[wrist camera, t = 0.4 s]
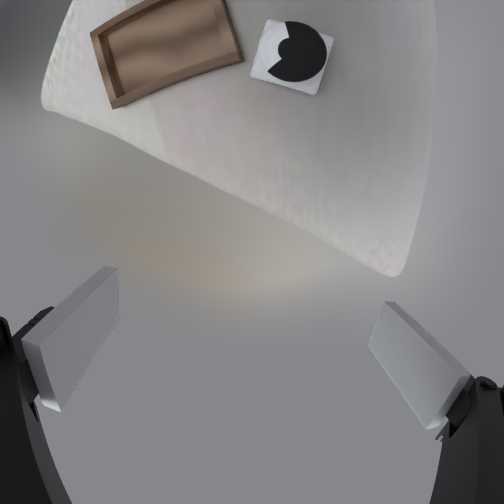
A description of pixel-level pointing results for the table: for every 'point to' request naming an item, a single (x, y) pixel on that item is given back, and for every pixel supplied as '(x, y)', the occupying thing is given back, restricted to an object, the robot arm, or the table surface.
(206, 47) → the walnut tray
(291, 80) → the medicine bottle
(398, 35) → the table surface
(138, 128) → the table surface
